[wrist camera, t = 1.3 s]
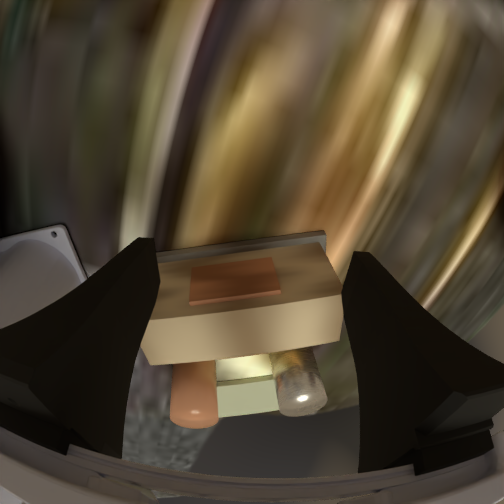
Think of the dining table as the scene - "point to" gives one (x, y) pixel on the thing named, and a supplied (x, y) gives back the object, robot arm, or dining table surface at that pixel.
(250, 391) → the mat
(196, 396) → the terracotta cap
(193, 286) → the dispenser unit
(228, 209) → the dining table surface
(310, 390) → the grey shiny short cylinder
